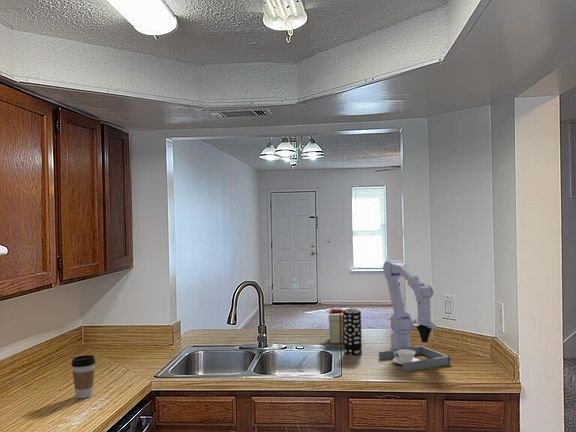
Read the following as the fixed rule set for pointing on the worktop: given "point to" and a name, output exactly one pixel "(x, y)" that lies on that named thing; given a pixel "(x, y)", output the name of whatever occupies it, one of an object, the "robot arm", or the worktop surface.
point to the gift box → (337, 324)
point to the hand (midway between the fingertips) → (424, 342)
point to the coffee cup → (83, 375)
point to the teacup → (404, 356)
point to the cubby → (435, 360)
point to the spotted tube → (352, 332)
